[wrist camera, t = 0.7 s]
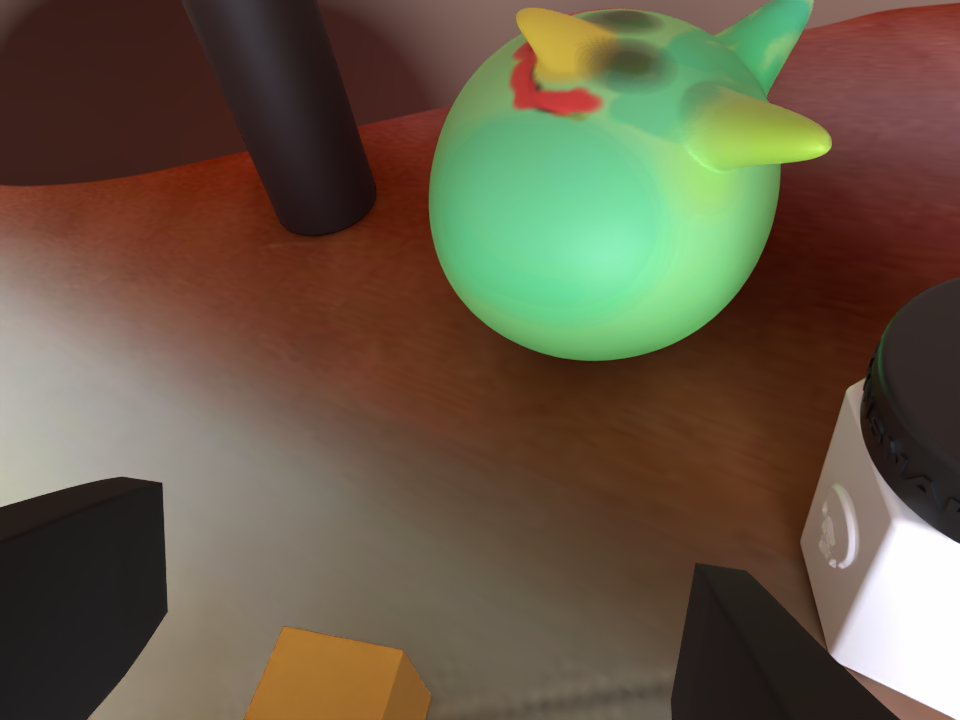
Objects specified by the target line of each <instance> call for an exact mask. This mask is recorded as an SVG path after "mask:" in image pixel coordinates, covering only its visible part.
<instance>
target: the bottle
mask: <svg viewBox="0 0 960 720" xmlns="http://www.w3.org/2000/svg"><path fill="white" fill-rule="evenodd" d="M181 1H182V3H183V6H184V8H185V10H186V12H187V15H188V17H189V19H190V21H191V24H192V26H193V28H194V30H195V33H196V35H197V37H198V39H199V42H200V44H201V46H202V48H203V51H204V53H205V55H206V57H207V59H208V62H209V64H210V66H211V68H212V71H213V73H214V75H215V77H216V79H217V82H218V84H219V86H220V88H221V91H222V93H223V95H224V97H225V100H226V102H227V104H228V106H229V109H230V111H231V113H232V115H233V117H234V120H235V122H236V124H237V127H238V129H239V131H240V133H241V135H242V138H243V140H244V142H245V144H246V147H247V149H248V151H249V153H250V156H251V158H252V160H253V162H254V165H255V167H256V169H257V171H258V174H259V176H260V178H261V180H262V183H263V185H264V187H265V189H266V191H267V194H268V196H269V198H270V200H271V203H272V205H273V207H274V209H275V212H276V214H277V216H278V218H279V221H280V223H281V224H282V225H283V226H284V227H285V228H287V229H288V230H289V231H291V232H294V233H298V234H301V235H324V234H329V233H334V232H336V231H339V230H341V229H344V228H347V227H349V226H350V225H352V224H354V223H355V222H357V221H358V220H360V219H361V218H362V217H363V216H364V215H365V214H366V213H367V212H368V211H369V210H370V209H371V207H372V205H373V203H374V201H375V199H376V186H375V183H374V180H373V177H372V174H371V171H370V167H369V164H368V161H367V158H366V155H365V152H364V148H363V145H362V142H361V139H360V136H359V133H358V129H357V126H356V123H355V121H354V117H353V114H352V111H351V108H350V104H349V101H348V98H347V95H346V92H345V89H344V85H343V82H342V79H341V76H340V73H339V70H338V66H337V63H336V60H335V57H334V54H333V51H332V48H331V44H330V41H329V38H328V35H327V32H326V28H325V25H324V22H323V19H322V16H321V13H320V10H319V6H318V3H317V0H181Z"/></svg>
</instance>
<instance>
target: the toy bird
mask: <svg viewBox="0 0 960 720" xmlns="http://www.w3.org/2000/svg"><path fill="white" fill-rule="evenodd" d="M813 4H814V0H771V1H769V2H768V3H766V4H765V5H763V6H761V7H760V8H758V9H757V10H755V11H754V12H752V13H750V14H749V15H747V16H746V17H744V18H743V19H741V20H740V21H738V22H737V23H735V24H733V25H732V26H730V27H729V28H727V29H725V30H724V31H722V32H720V33H718V34H716V35H711V34H709V33H707V32H706V31H704V30H702V29H700V28H698V27H696V26H694V25H692V24H690V23H687V22H685V21H682V20H680V19H677V18H674V17H670V16H667V15H664V14H660V13H656V12H651V11H645V10H637V9H624V8H623V9H622V8H620V9H619V8H615V9H598V10H590V11H583V12H578V13H573V14H569V15H566V14H563V13H559V12H556V11H552V10H548V9H543V8H533V7H530V8H525V9H522V10H520V11H519V12H518V13H517V15H516V21H517V25H518V27H519V29H520V31H521V32H522V34H520V35H518V36H517V37H515V38H514V39H512V40H510V41H509V42H508V43H506V44H505V45H503V46H502V47H501V48H500V49H498V50H497V51H496V52H495V53H494V54H492V55H491V56H490V57H489V58H488V59H487V60H486V61H485V62H484V63H483V64H482V65H481V66H480V67H479V68H478V69H477V71H476V72H475V73H474V74H473V75H472V77H471V78H470V79H469V80H468V82H467V83H466V85H465V86H464V87H463V89H462V91H461V92H460V94H459V95H458V97H457V98H456V100H455V102H454V104H453V106H452V108H451V110H450V112H449V114H448V116H447V118H446V120H445V123H444V125H443V128H442V131H441V134H440V136H439V140H438V143H437V146H436V150H435V154H434V159H433V164H432V169H431V176H430V186H429V217H430V226H431V232H432V237H433V242H434V246H435V249H436V253H437V256H438V259H439V261H440V264H441V266H442V269H443V271H444V273H445V275H446V277H447V279H448V281H449V283H450V284H451V286H452V288H453V289H454V291H455V292H456V294H457V295H458V296H459V298H460V299H461V300H462V301H463V303H464V304H465V305H466V306H467V307H468V308H469V309H470V311H471V312H472V313H473V314H474V315H476V316H477V317H478V318H479V319H480V320H481V321H482V322H484V323H485V324H486V325H487V326H489V327H490V328H491V329H493V330H494V331H496V332H497V333H499V334H500V335H502V336H504V337H505V338H507V339H509V340H511V341H513V342H515V343H517V344H519V345H521V346H524V347H526V348H528V349H531V350H534V351H537V352H540V353H543V354H546V355H550V356H554V357H559V358H565V359H572V360H583V361H604V360H616V359H623V358H629V357H634V356H639V355H643V354H646V353H650V352H653V351H656V350H659V349H662V348H664V347H667V346H669V345H671V344H674V343H676V342H678V341H680V340H682V339H683V338H685V337H687V336H689V335H690V334H692V333H694V332H695V331H697V330H698V329H700V328H701V327H702V326H704V325H705V324H706V323H708V322H709V321H710V320H711V319H713V318H714V317H715V316H716V315H717V314H718V313H719V312H720V311H721V310H723V309H724V308H725V306H726V305H727V304H728V303H729V302H730V301H731V300H732V299H733V298H734V296H735V295H736V294H737V293H738V292H739V290H740V289H741V288H742V286H743V285H744V283H745V282H746V280H747V279H748V277H749V276H750V274H751V273H752V271H753V269H754V267H755V266H756V264H757V262H758V260H759V258H760V256H761V254H762V251H763V249H764V247H765V244H766V242H767V239H768V236H769V233H770V230H771V227H772V224H773V220H774V216H775V212H776V207H777V202H778V196H779V188H780V173H781V164H782V163H791V162H798V161H804V160H809V159H813V158H817V157H820V156H822V155H824V154H825V153H827V152H828V151H829V150H830V148H831V146H832V140H831V137H830V135H829V134H828V132H827V131H826V130H825V129H824V128H823V127H822V126H820V125H819V124H817V123H816V122H814V121H812V120H810V119H808V118H806V117H804V116H802V115H800V114H797V113H795V112H793V111H790V110H788V109H785V108H782V107H780V106H777V105H774V104H771V103H769V102H768V100H767V95H768V93H769V91H770V88H771V87H772V85H773V83H774V81H775V79H776V77H777V76H778V74H779V72H780V70H781V69H782V67H783V65H784V63H785V62H786V60H787V58H788V56H789V55H790V53H791V51H792V50H793V48H794V46H795V44H796V43H797V41H798V39H799V37H800V35H801V33H802V32H803V30H804V28H805V26H806V24H807V21H808V19H809V17H810V14H811V12H812V9H813Z"/></svg>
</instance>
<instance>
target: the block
mask: <svg viewBox="0 0 960 720" xmlns="http://www.w3.org/2000/svg"><path fill="white" fill-rule="evenodd" d="M431 698H432V697H431V694H430V693H429V691H428V689H427V688H426V686H425V685H424V683H423V681H422V680H421V678H420V676H419V675H418V673H417V672H416V670H415V668H414V667H413V665H412V663H411V662H410V660H409V659H408V657H407V655H406V654H405V652H404V651H403V650H401V649H396V648H391V647H386V646H381V645H376V644H371V643H366V642H362V641H357V640H352V639H347V638H342V637H337V636H332V635H327V634H322V633H317V632H312V631H307V630H302V629H297V628H292V627H287V626H284V627H283V629H282V631H281V633H280V636H279V638H278V640H277V643H276V645H275V647H274V650H273V652H272V654H271V657H270V659H269V661H268V664H267V666H266V668H265V671H264V673H263V675H262V678H261V680H260V682H259V685H258V687H257V689H256V692H255V694H254V696H253V699H252V701H251V703H250V706H249V708H248V710H247V713H246V715H245V717H244V720H425V719H426V716H427V712H428V708H429V705H430V701H431Z"/></svg>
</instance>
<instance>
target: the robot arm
mask: <svg viewBox="0 0 960 720" xmlns="http://www.w3.org/2000/svg"><path fill="white" fill-rule="evenodd" d="M167 612H168V607H167V583H166V559H165V535H164V511H163V487H162V483H161V482H154V481H148V480H141V479H134V478H128V477H116V478H110V479H104V480H99V481H95V482H90V483H86V484H82V485H78V486H74V487H70V488H66V489H63V490H59V491H56V492H52V493H48V494H45V495H41V496H38V497H34V498H31V499H27V500H24V501H20V502H17V503H14V504H10V505H7V506H3V507H0V720H87V719H88V718H89V716H90V715H91V714H92V713H93V712H94V711H95V710H96V708H97V707H98V706H99V705H100V704H101V703H102V702H103V700H104V699H105V698H106V697H107V696H108V695H109V694H110V692H111V691H112V690H113V689H114V688H115V687H116V685H117V684H118V683H119V682H120V681H121V679H122V678H123V677H124V676H125V675H126V673H127V672H128V670H129V669H130V668H131V666H132V665H133V663H134V662H135V660H136V659H137V658H138V656H139V655H140V653H141V652H142V650H143V649H144V648H145V646H146V645H147V643H148V641H149V640H150V638H151V637H152V635H153V634H154V632H155V631H156V629H157V628H158V626H159V624H160V623H161V621H162V620H163V618H164V617H165V615H166V614H167ZM671 711H672V720H900V719H899V718H898V717H897V716H895V715H894V714H893V713H892V712H891V711H890V710H889V709H887V708H886V707H885V706H884V705H883V704H882V703H881V702H880V701H879V700H878V699H876V698H875V697H874V696H873V695H872V694H871V693H870V692H869V691H868V690H867V689H866V688H865V687H864V686H862V685H861V684H860V683H859V682H858V681H857V680H856V679H855V678H854V677H853V676H852V675H851V674H850V673H849V672H848V671H847V670H846V669H845V668H843V667H842V666H841V665H840V664H839V663H838V662H837V661H836V660H835V659H834V658H833V657H832V656H831V655H830V654H829V653H828V652H827V651H826V650H825V649H824V648H823V647H822V646H821V645H820V644H819V643H818V642H817V641H816V640H815V639H814V638H813V637H812V636H811V635H810V634H809V633H808V632H807V631H806V630H805V629H804V628H803V627H802V626H801V625H800V624H799V623H798V622H797V621H796V620H795V619H794V618H793V617H792V616H791V615H790V613H789V612H788V611H787V610H786V609H785V608H784V607H783V606H782V605H781V604H780V603H779V602H778V601H777V600H776V599H775V598H774V597H773V596H772V595H771V594H770V593H769V592H768V591H767V590H766V589H765V588H764V587H763V586H762V585H761V584H760V583H759V582H758V581H757V580H756V579H755V578H754V577H753V576H752V575H750V574H749V573H748V572H747V571H745V570H739V569H732V568H726V567H719V566H712V565H706V564H699V563H696V564H695V570H694V575H693V581H692V586H691V592H690V597H689V603H688V608H687V614H686V619H685V625H684V630H683V636H682V641H681V647H680V652H679V658H678V663H677V669H676V674H675V680H674V685H673V691H672V696H671Z"/></svg>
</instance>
